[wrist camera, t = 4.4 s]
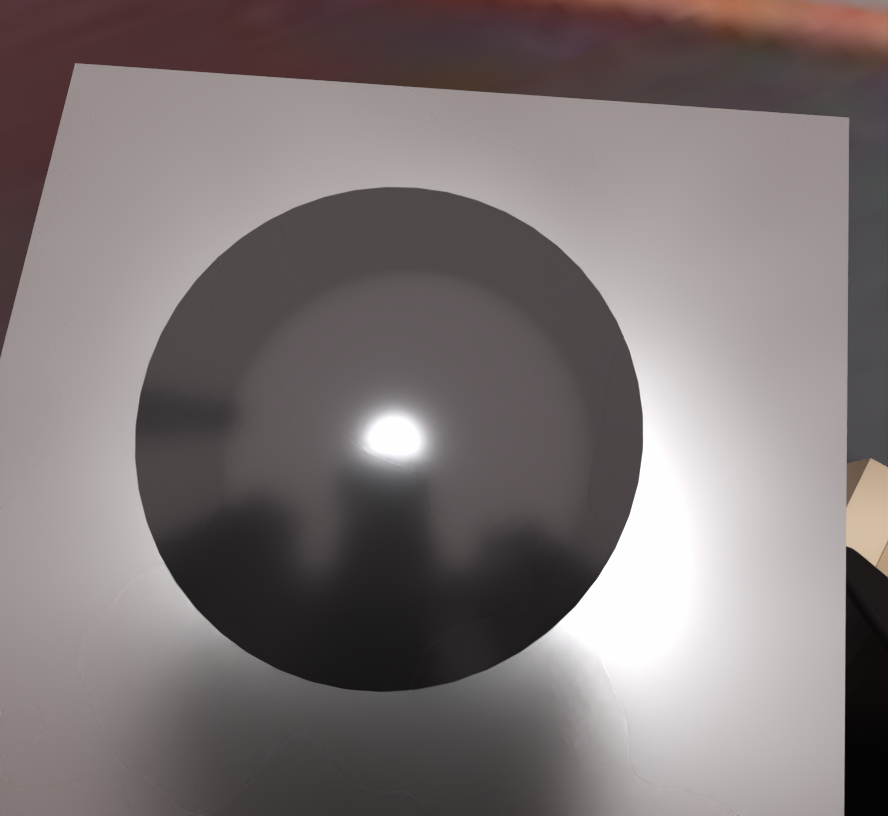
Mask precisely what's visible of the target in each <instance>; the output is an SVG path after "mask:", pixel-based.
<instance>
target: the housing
mask: <svg viewBox="0 0 888 816" xmlns="http://www.w3.org/2000/svg"><path fill="white" fill-rule="evenodd" d="M848 189H849V118H845V117H831V116H816V115H802V114H788V113H774V112H760V111H745V110H731V109H717V108H703V107H688V106H674V105H660V104H646V103H632V102H617V101H603V100H589V99H575V98H560V97H546V96H532V95H518V94H503V93H489V92H475V91H461V90H447V89H432V88H418V87H404V86H390V85H375V84H361V83H347V82H333V81H319V80H304V79H290V78H276V77H262V76H247V75H233V74H219V73H205V72H191V71H176V70H162V69H148V68H134V67H119V66H105V65H91V64H77V63H75V67H74V71H73V74H72V78H71V82H70V86H69V90H68V94H67V98H66V102H65V106H64V110H63V114H62V118H61V122H60V126H59V130H58V134H57V137H56V141H55V145H54V149H53V153H52V157H51V161H50V165H49V169H48V173H47V177H46V181H45V185H44V189H43V193H42V197H41V200H40V204H39V208H38V212H37V216H36V220H35V224H34V228H33V232H32V236H31V240H30V244H29V248H28V252H27V256H26V259H25V263H24V267H23V271H22V275H21V279H20V283H19V287H18V291H17V295H16V299H15V303H14V307H13V311H12V315H11V319H10V322H9V326H8V330H7V334H6V338H5V342H4V346H3V350H2V354H1V358H0V816H844V765H845V621H846V477H847V333H848Z"/></svg>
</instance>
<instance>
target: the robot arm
mask: <svg viewBox="0 0 888 816" xmlns="http://www.w3.org/2000/svg"><path fill="white" fill-rule="evenodd" d="M844 816H888V577H887V576H886V575H885V574H884V573H882V572H881V571H880V570H879V569H878V568H876V567H875V566H874V565H873V564H872V563H870V562H869V561H868V560H867V559H866V558H864V557H863V556H862V555H861V554H860V553H858V552H857V551H856V550H854V549H853V548H850V547H847V546H846V621H845V765H844Z"/></svg>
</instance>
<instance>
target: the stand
mask: <svg viewBox="0 0 888 816" xmlns="http://www.w3.org/2000/svg"><path fill="white" fill-rule="evenodd" d="M846 546H847V547H850V548H853V549H854V550H856V551H857V552H858V553H860V554H861V555H862V556H863V557H864V558H866V559H867V560H868V561H869V562H870V563H872V564H873V565H874V566H875V567H876V568H878V569H879V570H880V571H881V572H882V573H884V574H885V575H886V576H887V577H888V467H886V466H884V465H882V464H881V463H879V462H877V461H875V460H873V459H871V458H869V459H865V460H860V461H855V462H851V463H847V477H846Z"/></svg>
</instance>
